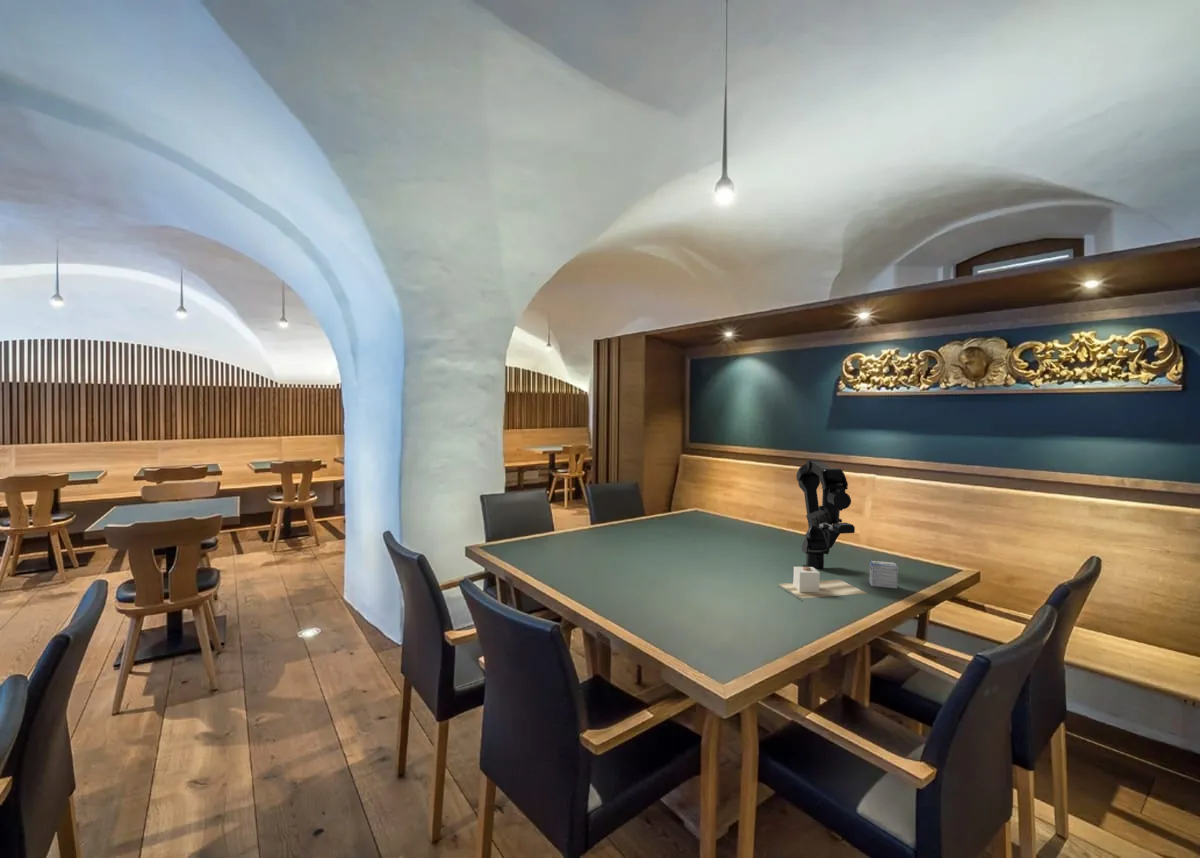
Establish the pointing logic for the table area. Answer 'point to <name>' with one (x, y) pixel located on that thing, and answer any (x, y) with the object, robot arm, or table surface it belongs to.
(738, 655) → the table surface
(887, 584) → the medicine box
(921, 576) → the table surface
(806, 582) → the knobbed cube
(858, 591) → the tan board
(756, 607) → the table surface
